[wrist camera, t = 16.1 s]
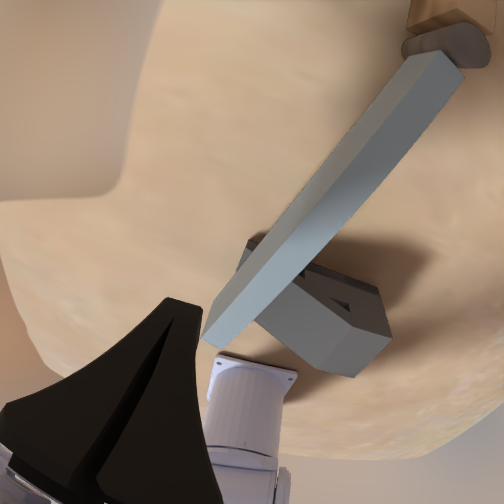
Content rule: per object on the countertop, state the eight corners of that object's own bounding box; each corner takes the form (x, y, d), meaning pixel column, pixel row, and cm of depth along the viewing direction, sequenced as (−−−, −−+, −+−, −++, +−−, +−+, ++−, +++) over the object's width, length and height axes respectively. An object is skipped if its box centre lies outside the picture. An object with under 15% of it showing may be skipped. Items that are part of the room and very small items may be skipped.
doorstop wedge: (377, 287, 20) (392, 338, 15) (347, 327, 22) (353, 378, 18) (248, 239, 19) (234, 287, 15) (229, 288, 21) (213, 338, 17)
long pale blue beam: (232, 311, 20) (221, 349, 17) (213, 300, 19) (200, 338, 17) (430, 76, 10) (465, 77, 7) (408, 56, 10) (440, 49, 7)
